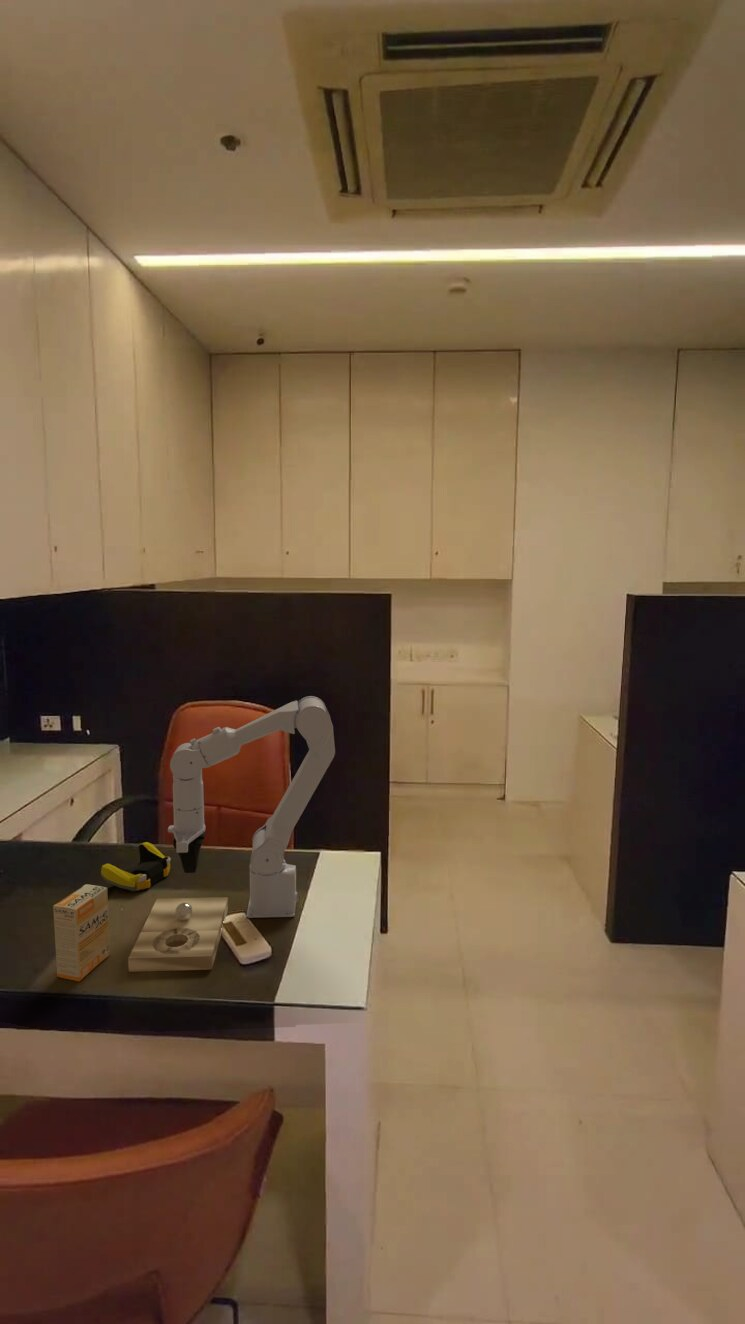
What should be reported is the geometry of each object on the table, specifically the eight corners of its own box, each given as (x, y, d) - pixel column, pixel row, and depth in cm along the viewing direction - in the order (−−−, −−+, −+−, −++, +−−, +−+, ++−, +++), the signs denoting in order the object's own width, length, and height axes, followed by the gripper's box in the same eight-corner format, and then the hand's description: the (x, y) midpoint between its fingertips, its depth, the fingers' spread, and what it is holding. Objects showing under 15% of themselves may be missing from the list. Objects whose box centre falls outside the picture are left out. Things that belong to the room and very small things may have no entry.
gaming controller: (97, 890, 143) (134, 900, 139) (95, 866, 142) (133, 875, 138) (145, 861, 157) (180, 869, 153) (144, 838, 156) (180, 846, 152)
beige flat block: (157, 910, 135) (156, 898, 135) (228, 908, 136) (227, 897, 136) (128, 971, 116) (128, 958, 115) (211, 969, 117) (211, 956, 116)
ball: (194, 914, 129) (194, 899, 129) (191, 923, 126) (190, 907, 125) (177, 915, 129) (177, 899, 128) (173, 924, 126) (173, 908, 125)
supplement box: (80, 983, 112) (76, 910, 110) (56, 977, 114) (51, 905, 112) (112, 955, 120) (108, 886, 118) (89, 950, 121) (85, 882, 119)
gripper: (175, 792, 138) (177, 855, 140) (158, 820, 124) (161, 889, 126) (210, 792, 138) (212, 854, 141) (197, 820, 124) (199, 889, 126)
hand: (190, 871), depth 133 cm, fingers closed
